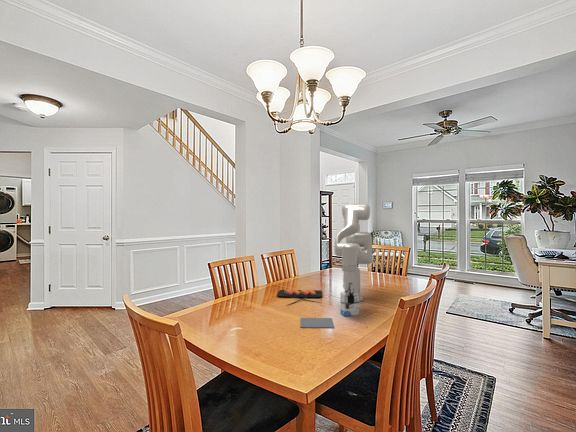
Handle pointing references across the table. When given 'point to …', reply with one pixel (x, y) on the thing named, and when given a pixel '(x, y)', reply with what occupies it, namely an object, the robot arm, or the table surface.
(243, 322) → the table surface
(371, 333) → the table surface
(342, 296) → the ink box
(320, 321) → the mat
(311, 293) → the sushi plate
